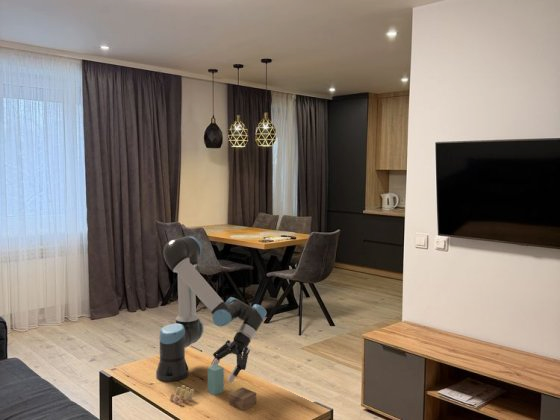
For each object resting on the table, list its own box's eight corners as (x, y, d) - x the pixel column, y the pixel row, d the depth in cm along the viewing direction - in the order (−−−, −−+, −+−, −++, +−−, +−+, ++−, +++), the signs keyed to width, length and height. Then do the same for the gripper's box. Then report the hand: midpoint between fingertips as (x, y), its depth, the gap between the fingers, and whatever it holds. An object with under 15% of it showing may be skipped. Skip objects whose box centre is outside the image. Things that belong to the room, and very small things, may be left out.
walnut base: (229, 405, 205) (229, 393, 205) (242, 398, 212) (242, 387, 211) (242, 411, 200) (243, 399, 200) (256, 404, 206) (256, 392, 206)
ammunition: (184, 383, 214) (169, 389, 208) (195, 389, 209) (180, 395, 203) (184, 394, 214) (169, 400, 208) (194, 399, 210) (179, 406, 203)
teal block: (207, 391, 217) (207, 367, 216) (216, 388, 220) (216, 364, 220) (214, 395, 213) (214, 371, 213) (223, 391, 217) (223, 367, 216)
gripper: (267, 346, 220) (242, 389, 210) (231, 333, 237) (206, 372, 227) (258, 338, 215) (233, 381, 206) (222, 325, 232) (197, 364, 223)
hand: (219, 377), depth 216 cm, fingers open, 13 cm apart
